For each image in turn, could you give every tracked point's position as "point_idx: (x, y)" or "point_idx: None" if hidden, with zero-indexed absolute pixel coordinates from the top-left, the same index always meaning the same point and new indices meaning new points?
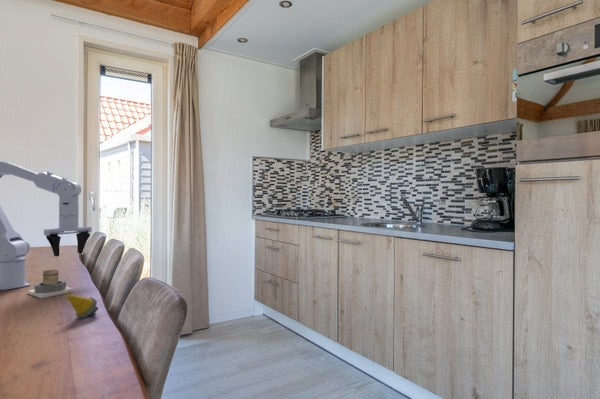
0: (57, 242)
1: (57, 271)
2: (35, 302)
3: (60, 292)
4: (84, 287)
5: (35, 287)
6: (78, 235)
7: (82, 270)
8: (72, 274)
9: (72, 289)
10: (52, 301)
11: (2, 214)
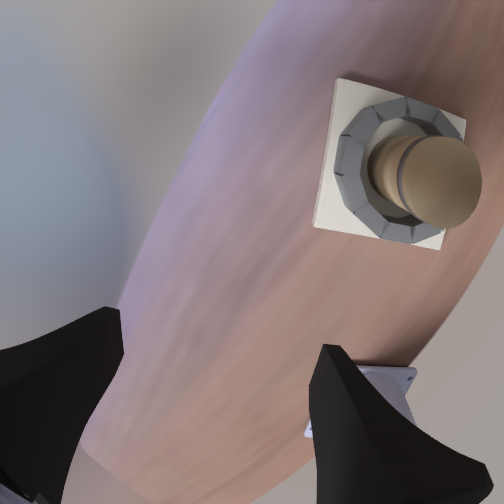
0: (402, 438)
1: (429, 139)
2: (489, 90)
3: (394, 94)
4: (245, 110)
5: None
6: (42, 482)
7: None
8: (130, 392)
9: (339, 79)
10: (457, 39)
11: None
